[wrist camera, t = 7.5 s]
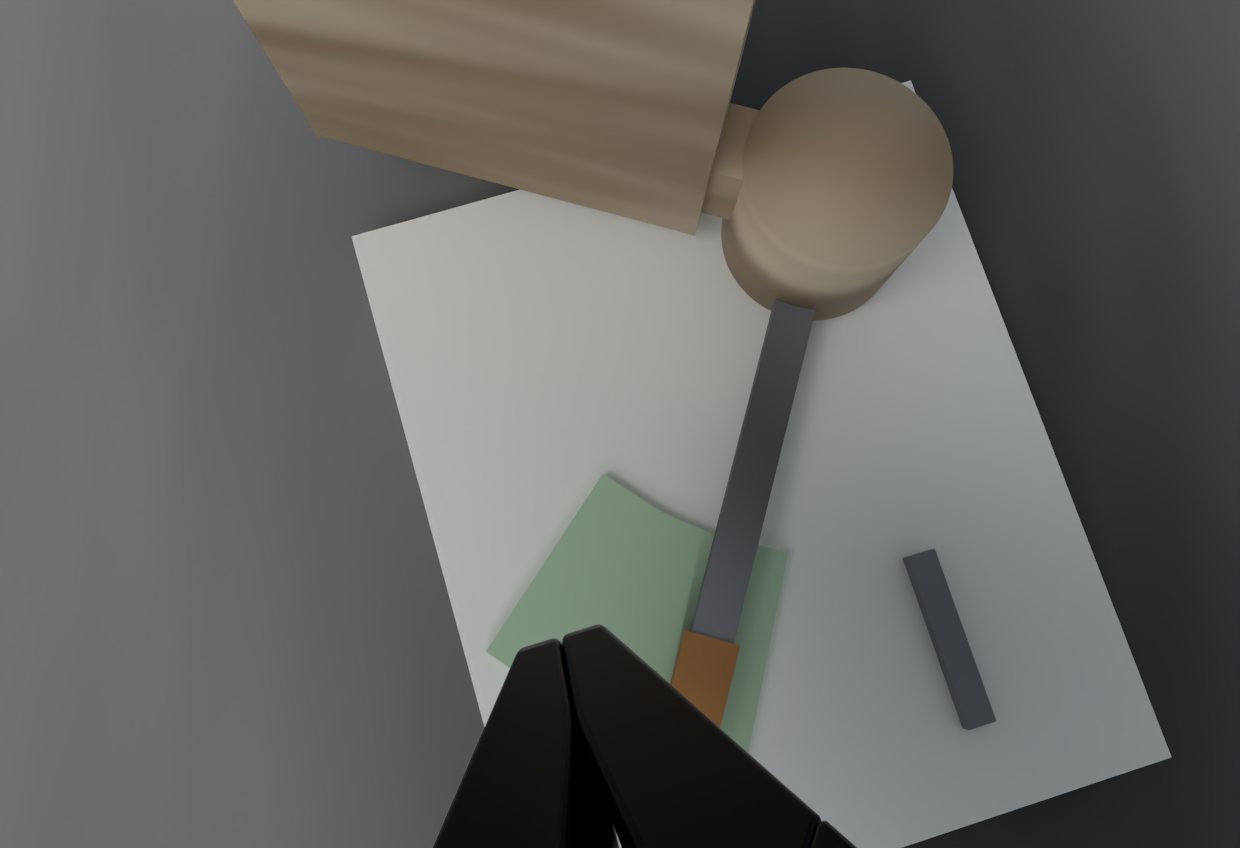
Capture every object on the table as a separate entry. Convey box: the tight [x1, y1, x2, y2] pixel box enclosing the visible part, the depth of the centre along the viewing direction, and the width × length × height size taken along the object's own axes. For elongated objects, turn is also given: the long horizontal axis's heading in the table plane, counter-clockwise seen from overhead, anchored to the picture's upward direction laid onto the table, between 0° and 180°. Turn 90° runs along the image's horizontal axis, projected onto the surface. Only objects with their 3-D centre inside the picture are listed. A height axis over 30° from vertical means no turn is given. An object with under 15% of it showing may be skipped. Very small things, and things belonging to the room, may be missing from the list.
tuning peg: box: [233, 0, 953, 728], centre depth 13 cm, size 11×11×8 cm
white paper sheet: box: [352, 81, 1171, 848], centre depth 18 cm, size 13×11×2 cm
